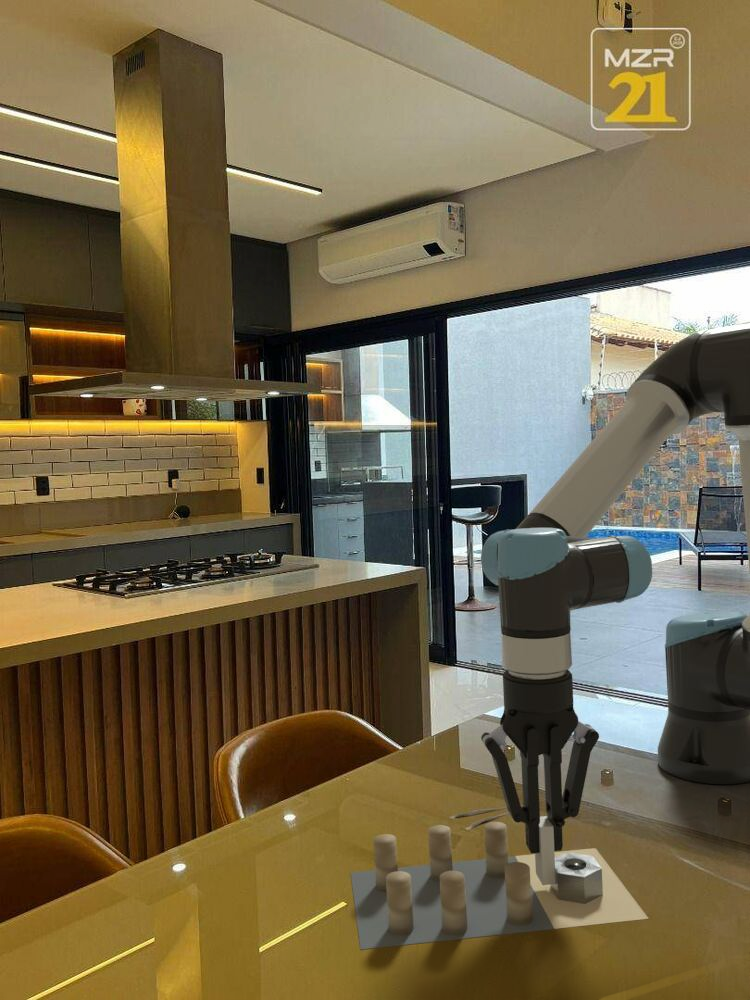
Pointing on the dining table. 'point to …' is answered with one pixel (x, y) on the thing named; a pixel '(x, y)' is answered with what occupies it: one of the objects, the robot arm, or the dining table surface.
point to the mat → (485, 904)
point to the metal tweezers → (478, 813)
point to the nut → (577, 878)
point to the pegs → (451, 880)
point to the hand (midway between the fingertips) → (545, 878)
